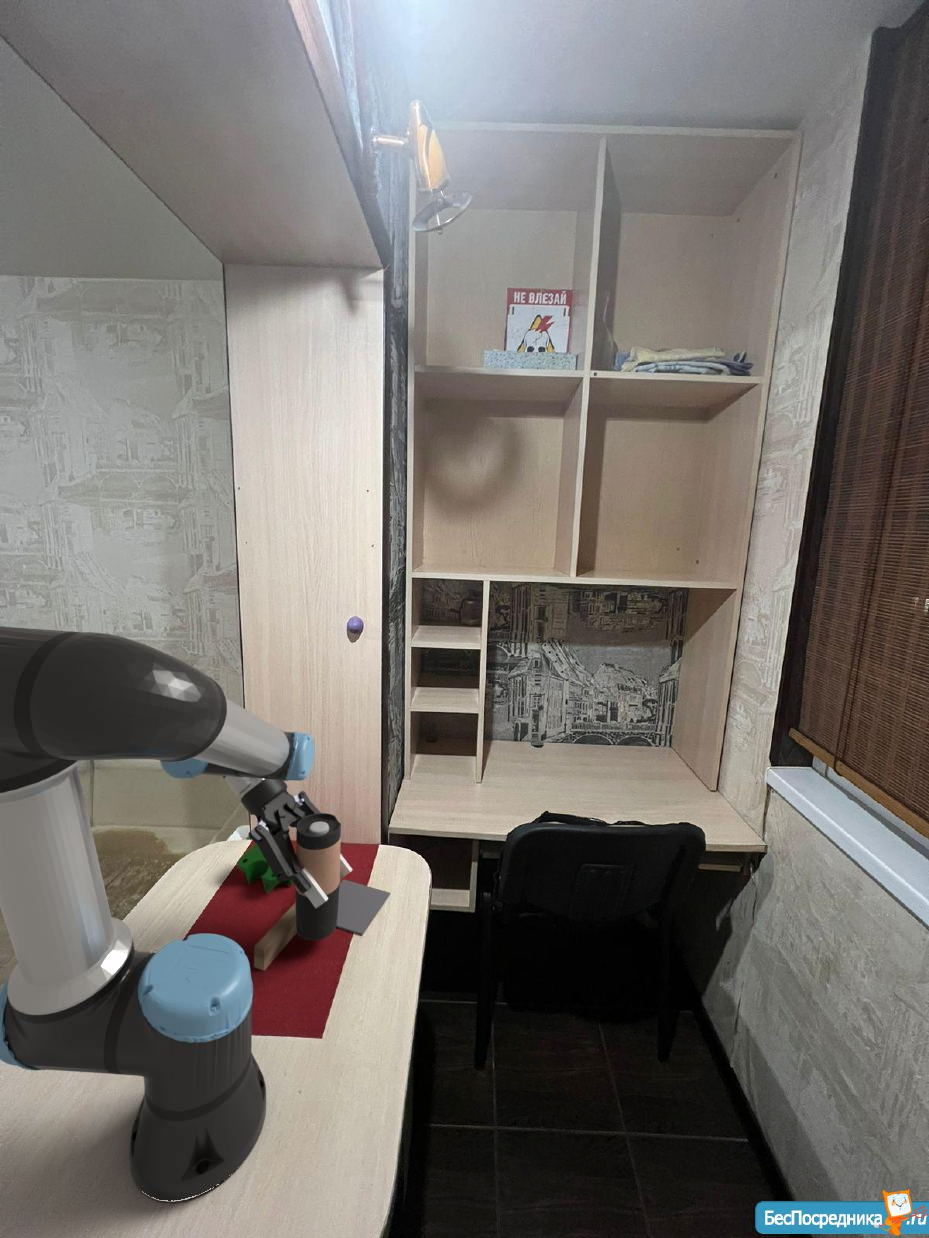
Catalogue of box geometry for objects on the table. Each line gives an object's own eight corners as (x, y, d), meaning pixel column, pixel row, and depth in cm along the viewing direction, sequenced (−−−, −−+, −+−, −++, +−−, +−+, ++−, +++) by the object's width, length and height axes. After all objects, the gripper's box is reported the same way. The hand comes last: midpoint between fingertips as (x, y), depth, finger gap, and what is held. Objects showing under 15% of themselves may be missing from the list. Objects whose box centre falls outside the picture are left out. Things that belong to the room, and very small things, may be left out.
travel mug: (286, 938, 91) (287, 833, 88) (305, 907, 99) (307, 809, 95) (328, 945, 90) (331, 839, 87) (344, 913, 98) (347, 815, 94)
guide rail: (264, 970, 88) (264, 950, 88) (254, 967, 89) (254, 946, 88) (341, 880, 112) (341, 863, 111) (333, 877, 112) (333, 861, 112)
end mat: (362, 935, 97) (362, 933, 97) (311, 919, 100) (311, 917, 100) (390, 894, 109) (390, 892, 109) (343, 880, 112) (343, 879, 112)
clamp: (249, 898, 111) (229, 863, 110) (271, 876, 116) (252, 843, 114) (284, 901, 104) (263, 864, 103) (305, 878, 109) (285, 842, 108)
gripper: (280, 771, 105) (350, 864, 103) (202, 823, 85) (286, 938, 84) (303, 751, 102) (375, 846, 100) (228, 800, 83) (315, 918, 81)
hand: (334, 887), depth 92 cm, fingers closed on travel mug, 7 cm apart
